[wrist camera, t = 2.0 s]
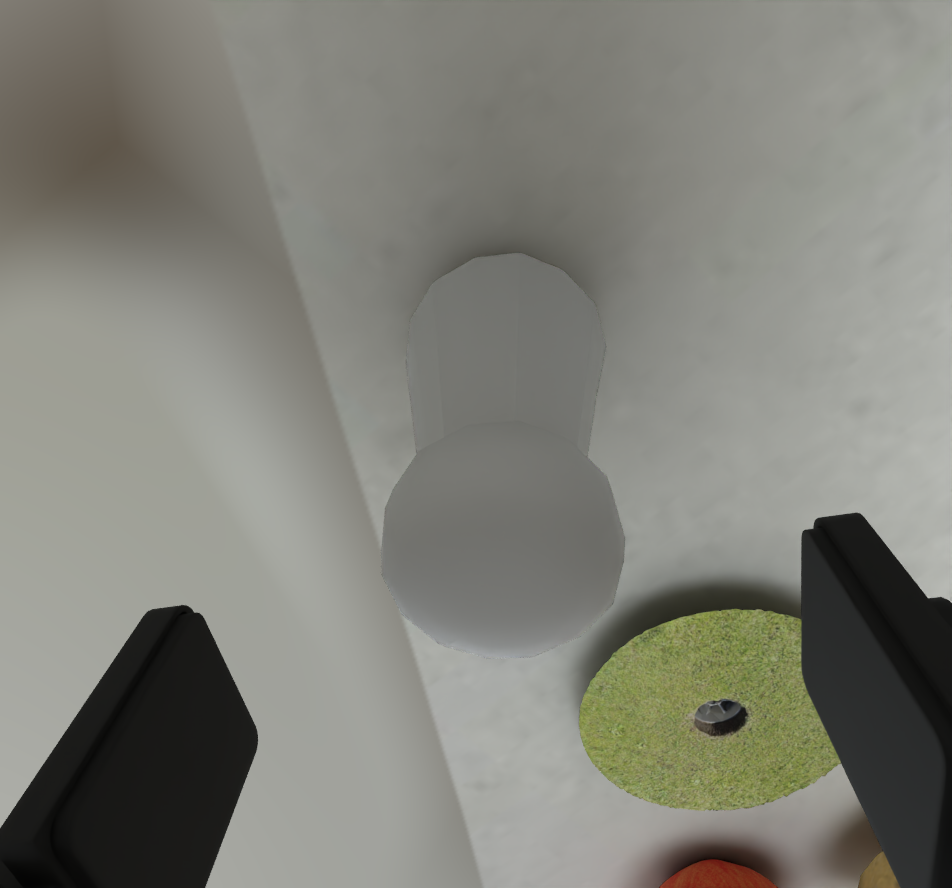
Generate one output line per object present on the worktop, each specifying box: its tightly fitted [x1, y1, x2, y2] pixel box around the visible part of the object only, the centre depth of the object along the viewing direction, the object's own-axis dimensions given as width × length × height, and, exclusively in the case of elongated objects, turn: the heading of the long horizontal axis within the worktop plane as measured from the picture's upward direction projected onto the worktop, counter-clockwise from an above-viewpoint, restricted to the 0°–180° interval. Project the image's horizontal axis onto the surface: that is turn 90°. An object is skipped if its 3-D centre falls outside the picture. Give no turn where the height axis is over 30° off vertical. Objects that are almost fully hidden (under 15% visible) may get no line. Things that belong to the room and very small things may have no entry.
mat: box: [579, 608, 841, 811], centre depth 29 cm, size 11×11×2 cm
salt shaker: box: [381, 252, 625, 659], centre depth 17 cm, size 6×6×13 cm
